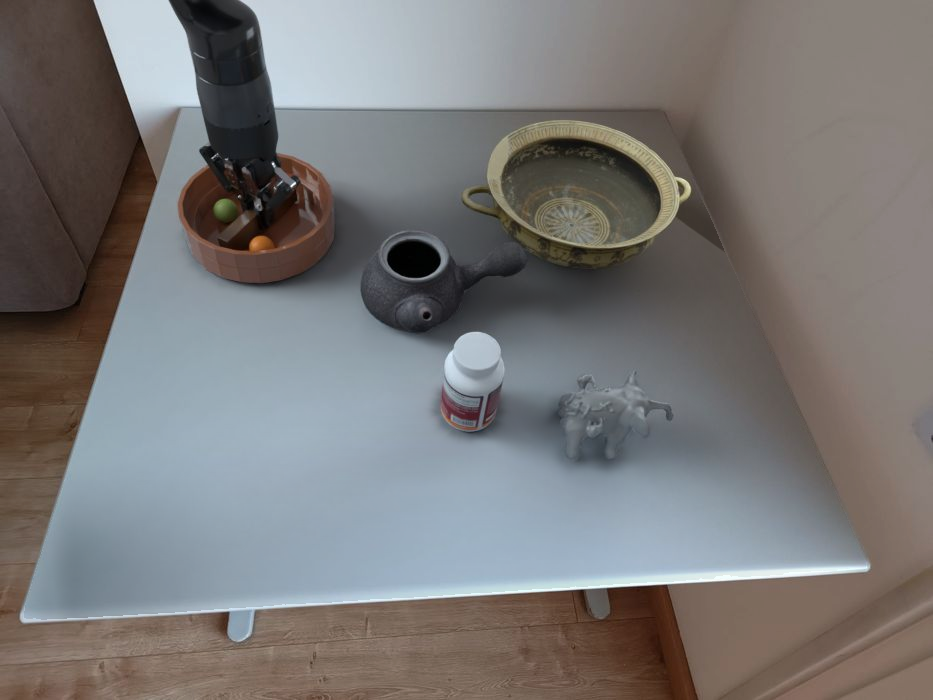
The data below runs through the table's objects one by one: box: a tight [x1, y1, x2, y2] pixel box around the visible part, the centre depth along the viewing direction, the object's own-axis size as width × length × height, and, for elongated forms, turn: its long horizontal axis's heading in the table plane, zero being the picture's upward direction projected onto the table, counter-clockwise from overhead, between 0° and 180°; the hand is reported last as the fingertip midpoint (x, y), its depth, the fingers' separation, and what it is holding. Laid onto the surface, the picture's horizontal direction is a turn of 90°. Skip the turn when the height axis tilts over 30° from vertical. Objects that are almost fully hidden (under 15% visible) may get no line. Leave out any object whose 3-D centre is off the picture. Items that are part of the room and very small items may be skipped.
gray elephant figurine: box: [557, 369, 674, 461], centre depth 75 cm, size 9×12×8 cm
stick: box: [217, 184, 298, 251], centre depth 89 cm, size 13×2×4 cm, turn 151°
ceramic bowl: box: [461, 119, 692, 270], centre depth 92 cm, size 30×24×10 cm
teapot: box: [360, 229, 528, 334], centre depth 83 cm, size 19×15×10 cm
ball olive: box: [213, 199, 238, 223], centre depth 90 cm, size 3×3×3 cm
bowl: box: [177, 152, 336, 284], centre depth 89 cm, size 18×18×6 cm
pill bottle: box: [440, 331, 506, 433], centre depth 74 cm, size 6×6×11 cm
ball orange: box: [249, 236, 275, 251], centre depth 87 cm, size 3×3×3 cm
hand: (260, 223), depth 90 cm, fingers closed on stick, 1 cm apart
